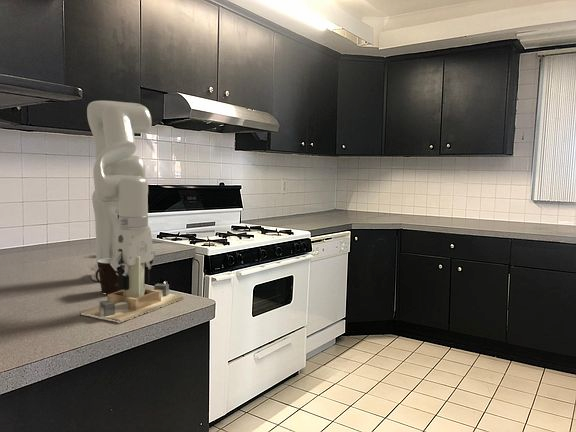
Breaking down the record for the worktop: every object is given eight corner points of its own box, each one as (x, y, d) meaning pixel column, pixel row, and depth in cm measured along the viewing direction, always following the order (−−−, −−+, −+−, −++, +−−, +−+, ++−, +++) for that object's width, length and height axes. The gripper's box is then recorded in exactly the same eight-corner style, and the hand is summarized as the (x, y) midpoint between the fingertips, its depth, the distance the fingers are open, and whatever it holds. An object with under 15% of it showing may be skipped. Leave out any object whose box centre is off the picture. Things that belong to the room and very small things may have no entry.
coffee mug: (118, 287, 152) (117, 256, 151) (133, 292, 147) (132, 260, 146) (83, 294, 143) (82, 261, 142) (97, 299, 138) (97, 265, 137)
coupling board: (79, 315, 123) (79, 300, 123) (146, 293, 146) (146, 280, 145) (120, 323, 117) (120, 307, 117) (183, 299, 140) (183, 286, 139)
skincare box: (129, 294, 134) (129, 252, 133) (145, 294, 135) (145, 252, 133) (123, 300, 128) (122, 256, 127) (139, 300, 128) (139, 256, 127)
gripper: (120, 227, 120) (121, 295, 122) (165, 220, 135) (165, 281, 137) (98, 224, 123) (99, 291, 125) (145, 218, 139) (145, 278, 140)
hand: (134, 285), depth 131 cm, fingers closed on skincare box, 7 cm apart
